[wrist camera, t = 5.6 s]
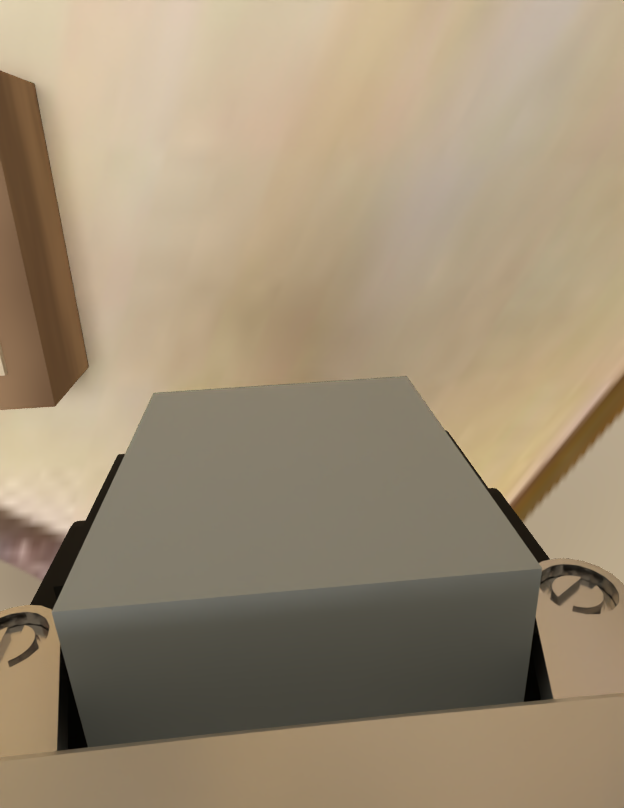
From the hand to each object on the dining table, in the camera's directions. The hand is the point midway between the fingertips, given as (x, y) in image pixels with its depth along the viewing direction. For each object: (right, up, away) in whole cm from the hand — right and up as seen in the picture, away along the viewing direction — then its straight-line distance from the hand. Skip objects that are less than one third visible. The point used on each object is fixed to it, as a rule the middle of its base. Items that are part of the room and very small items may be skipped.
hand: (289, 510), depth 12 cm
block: (0, 0, +1) cm, 1 cm away
